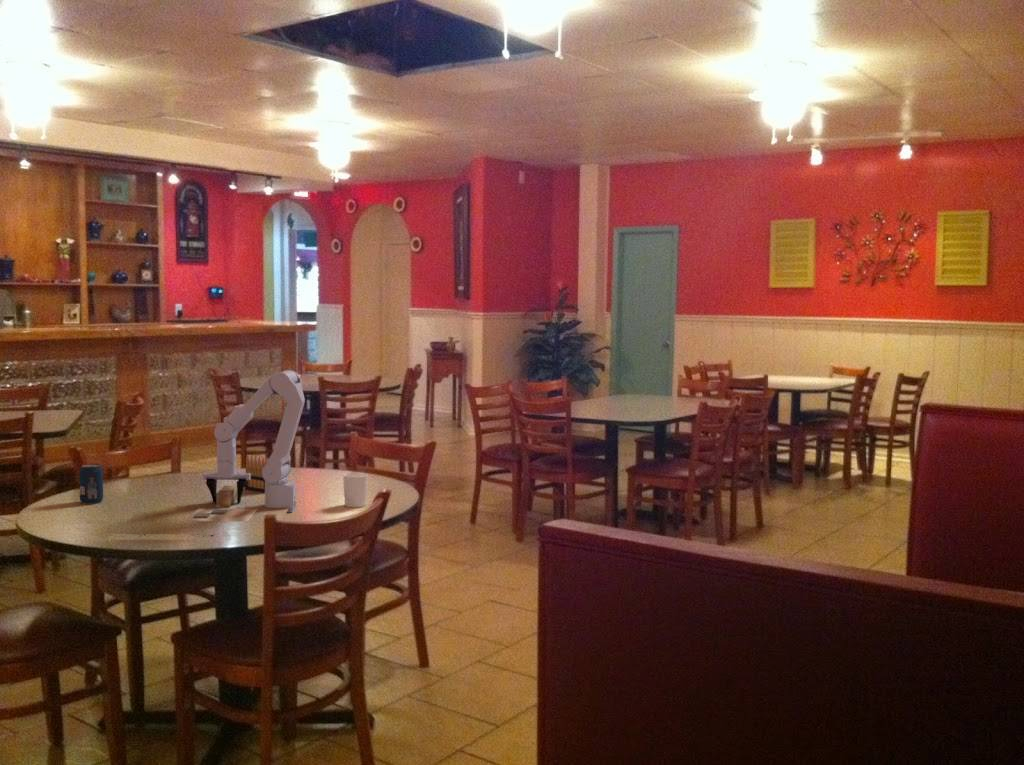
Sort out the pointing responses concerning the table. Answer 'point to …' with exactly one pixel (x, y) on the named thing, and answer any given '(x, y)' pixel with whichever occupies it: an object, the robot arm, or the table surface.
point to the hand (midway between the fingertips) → (226, 502)
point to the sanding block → (226, 496)
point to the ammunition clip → (255, 474)
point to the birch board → (225, 515)
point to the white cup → (355, 489)
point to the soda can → (91, 483)
